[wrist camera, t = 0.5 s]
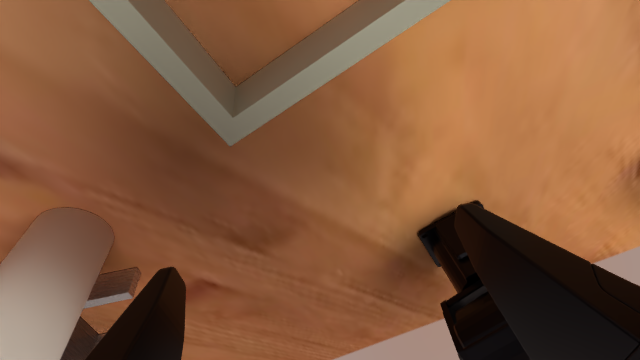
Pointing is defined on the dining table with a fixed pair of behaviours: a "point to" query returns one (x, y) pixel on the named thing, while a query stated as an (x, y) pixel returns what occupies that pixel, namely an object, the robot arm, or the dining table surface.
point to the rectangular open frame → (275, 78)
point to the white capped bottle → (50, 282)
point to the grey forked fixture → (102, 292)
